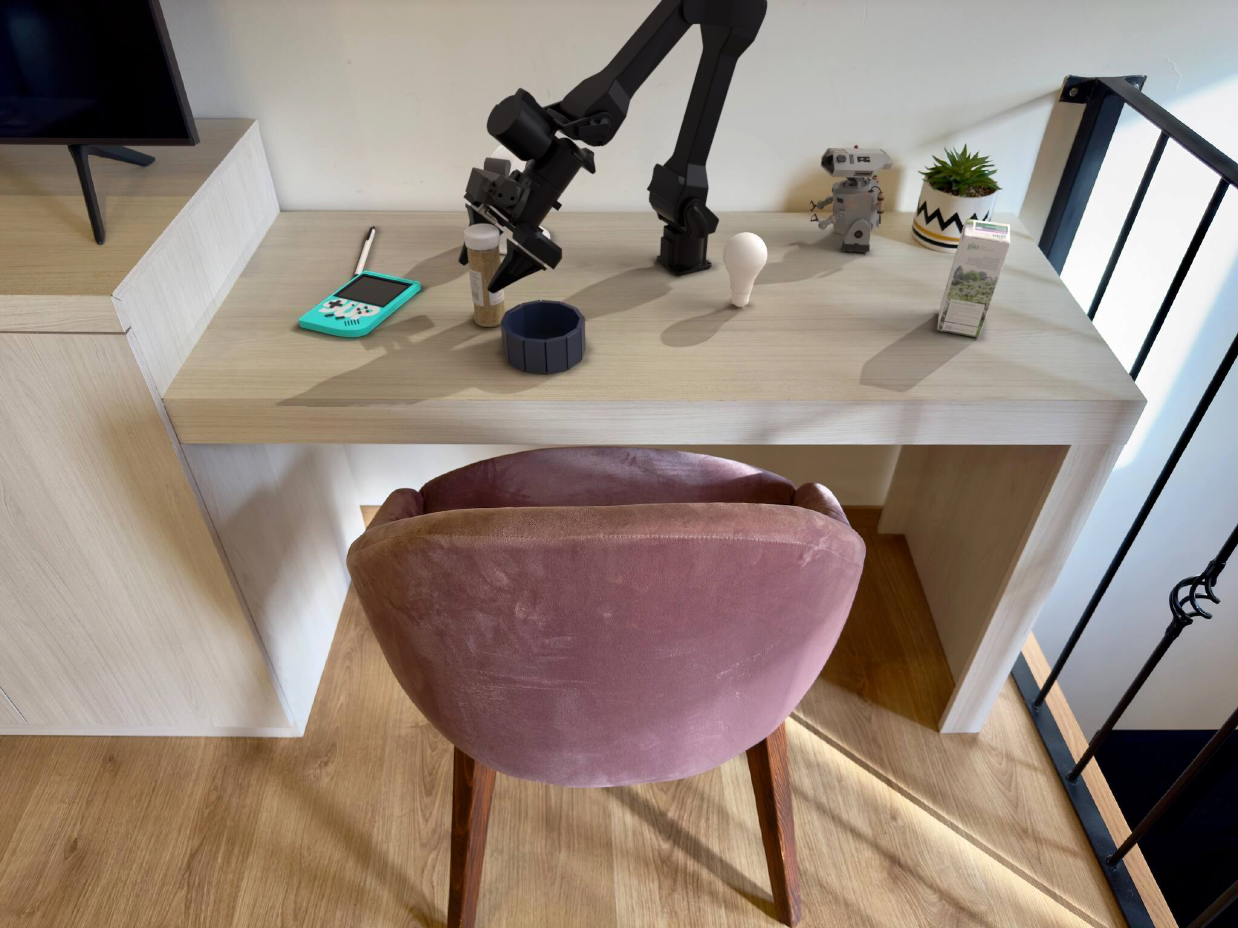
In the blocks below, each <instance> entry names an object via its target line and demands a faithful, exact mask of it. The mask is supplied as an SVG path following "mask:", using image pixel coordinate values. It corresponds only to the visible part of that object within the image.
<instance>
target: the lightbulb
mask: <svg viewBox="0 0 1238 928" xmlns="http://www.w3.org/2000/svg"><path fill="white" fill-rule="evenodd" d="M766 245H767V244H765V241H763V239H762V238H761V237H760V236H758V235H757V234H755V233H752V232H749V231H744V232H739V233H737V234H735V235H733V236H732V237H730V238H729V239H728V240H727V241H726V243H725V245H724V247H723V249H722V250H723V252H722V261H723V264H724V266H725V269H726V271H727V273H728V276H729V282H730V283H729V287H730V291H731V293H730V294H731V296H730V301H731V303H732V305H735V306H736V307H738V308H742V307H744V306H746V305H748V303H749V301H750V298H751V297H750V295H751V292H752V291H753V288H754V284H755V281H756V278H757V277H758V275H759V274H760V273H761V271H762V270H763V268H764V267H765V265H766V263H767V260H768V248H767V246H766Z"/></svg>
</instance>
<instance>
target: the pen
mask: <svg viewBox="0 0 1238 928" xmlns="http://www.w3.org/2000/svg"><path fill="white" fill-rule="evenodd" d="M375 233H376V229H375V225H373V226H370V227H369V229H368V232H367V236H366V238H365V243H364V245H363V248H362V252H361V255H360V258H359V260H358V263H357V266H356V269H355V272H354V275H353V278H355V277H356V276H357V275H359V274H360V273H362V272H363V271H364V266H365V264H366V262H367V261H366V260H367V258H368V255H369V252H370V248H371V245H372V242H373V240H374V237H375Z"/></svg>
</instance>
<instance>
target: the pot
mask: <svg viewBox="0 0 1238 928" xmlns="http://www.w3.org/2000/svg"><path fill="white" fill-rule="evenodd" d="M500 328H501V329H500V330H501V331H500V332H501V343H502V353H503V356H504V359H505V361H506V362H507V364H508V365H509V366H511V367H513V368H515V369H516V370H519V371H521V372H523V373H527V374H537V375H538V374H539V375H551V374H557V373H561V372H566V371H567V370H570V369H572V368H573V367H575V366H577V365H578V364H580V363H581V362H582V361H583V359H584V356H585V353H586V318H585V316H584V315H583V313H582V312H581V310H580V309H579V308H578V307H576V306H574V305H571V304H569V303H567V302H564V301H560V300H550V299H537V300H536V299H535V300H530V301H526V302H522V303H519V304H516V305H515V306H513V307H511V308H510V309H508V310H506V311H505V314H504V316H503V318H502V320H501V324H500Z"/></svg>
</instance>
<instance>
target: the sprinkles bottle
mask: <svg viewBox="0 0 1238 928" xmlns="http://www.w3.org/2000/svg"><path fill="white" fill-rule="evenodd" d="M463 236H464V241H465V245H466V247H467V252H468V261H469V263H468V275H469V281H470V289H471V290H470V291H471V298H472V303H473V311H474V316H473V319H474V322H475V323H476V324H477V325H478V326H480V327H483V328H493V327H498V326H501V320H502V318H503V316H504V314H505V312H506V307H505V290H504V288H503V289H501V290H499V291H498V292H496V293H491V292H489V291H488V290H487V287H488V285H489V283H490V281H491V279H492V278H493V276H494V274H495V273H496V271H497V269H498V268H499V266H500V264H501V263H502V261H501V254H500V252H499V244H500V235H499V230H498V228H497V227H496V226H494V225H491V224H475V225H472V226H469V225H468V226H467V227H466V228H465V229H464V231H463Z"/></svg>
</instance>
